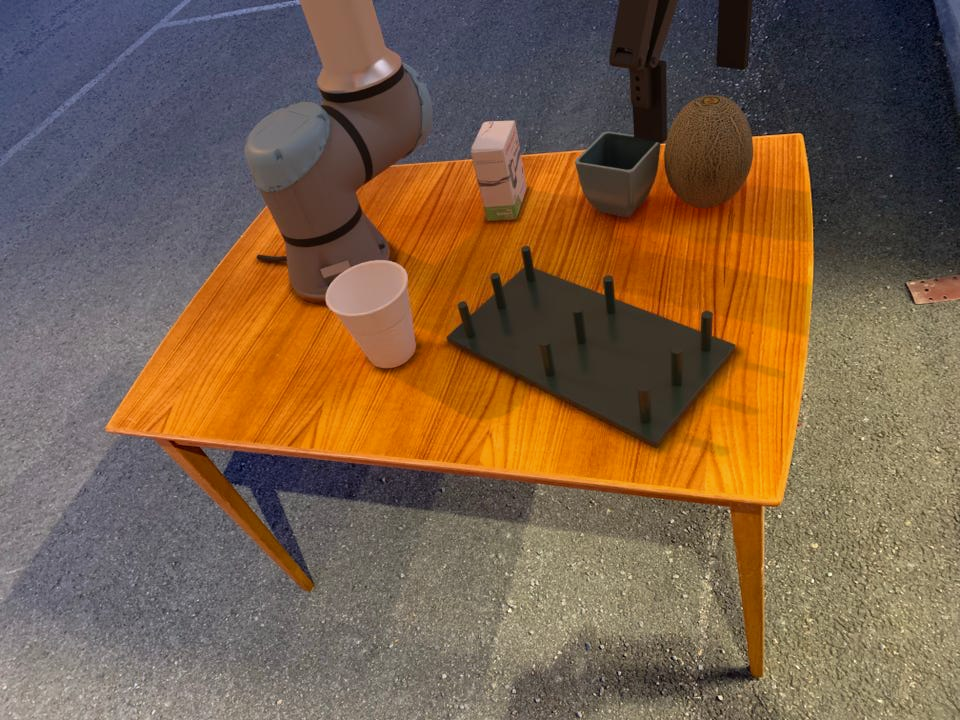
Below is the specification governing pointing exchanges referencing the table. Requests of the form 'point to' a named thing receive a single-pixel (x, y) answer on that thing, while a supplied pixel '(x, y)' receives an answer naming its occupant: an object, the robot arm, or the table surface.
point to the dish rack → (593, 350)
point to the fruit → (708, 151)
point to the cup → (375, 310)
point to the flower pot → (618, 172)
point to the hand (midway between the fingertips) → (693, 101)
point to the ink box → (499, 169)
